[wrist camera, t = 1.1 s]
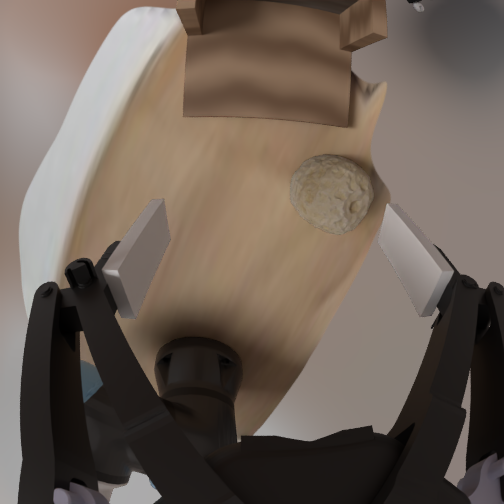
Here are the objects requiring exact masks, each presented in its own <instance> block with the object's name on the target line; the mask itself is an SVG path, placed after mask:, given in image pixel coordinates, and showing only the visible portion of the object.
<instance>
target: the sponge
mask: <svg viewBox="0 0 504 504" xmlns="http://www.w3.org/2000/svg"><path fill="white" fill-rule="evenodd" d="M373 198H374V191H373V187H372V184H371V179H370V177H369V175H367V173H366V172H365V171H364V170H363V169H362V168H361V167H360V166H358V165H357V164H356V163H354V162H353V161H351V160H348V159H346V158H344V157H339V156H337V155H326V154H323V155H319V156H315V157H312V158H310V159H308V160H306V161H304V163H303V164H302V165H301V166H300V168H299V169H298V170H297V171H295V173H294V175H293V177H292V179H291V185H290V200H291V203H292V204H293V206H294V207H295V209H296V210H297V211H298V213H299V215H300V216H301V217H303V218H304V220H307V221H308V222H309V223H310V224H312V225H313V226H314V227H315V228H319V229H321V230H323V231H325V232H327V233H331V234H336V235H341V234H345V233H347V232H348V231H352V230H354V229H355V228H356V226H357V225H358V224H359V223H360V222H361V221H362V219H363V218H364V216H365V215H366V214H367V211H368V209H369V207H370V204H371V202H372V200H373Z"/></svg>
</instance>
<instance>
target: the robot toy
mask: <svg viewBox="0 0 504 504" xmlns="http://www.w3.org/2000/svg"><path fill="white" fill-rule="evenodd" d="M407 1H408V2H409V3H413V8H414V9H415V10H416V11H417V12H422V11H424V7H423V5H422V4H421V3H419V1H421V0H407Z"/></svg>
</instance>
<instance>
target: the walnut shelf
mask: <svg viewBox="0 0 504 504" xmlns="http://www.w3.org/2000/svg"><path fill="white" fill-rule="evenodd" d="M176 11H177V13H178V15H179V17H180V20H181V22H182V24H183V26H184V28H185V31H186V33H187V35H188V39H187V51H186V64H185V80H184V102H183V117H249V118H267V119H280V120H291V121H301V122H309V123H317V124H325V125H332V126H338V127H346V128H347V127H348V114H349V100H350V83H351V54H352V52H353V51H356V50H358V49H360V48H363V47H365V46H367V45H370V44H372V43H375V42H377V41H380V40H382V39H385V38H387V15H386V1H385V0H177V5H176Z"/></svg>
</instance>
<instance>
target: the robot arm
mask: <svg viewBox="0 0 504 504" xmlns="http://www.w3.org/2000/svg"><path fill="white" fill-rule="evenodd" d="M170 240H171V239H170V233H169V227H168V221H167V215H166V208H165V202H164V199H152V200H151V201H150V203H149V204H148V205H147V206H146V208H145V209H144V210H143V212H142V213H141V214H140V216H139V217H138V218H137V220H136V221H135V222H134V224H133V225H132V226H131V228H130V229H129V231H128V232H127V233H126V235H125V236H124V238H123V239H122V240H121V241H115V242H114V243H113V244H111V245H110V246H109V247H108V248H107V250H106V251H105V252H104V254H103V255H102V257H101V259H100V260H99V261H98V262H97V264H96V265H95V267H94V266H93V263H92V261H91V260H90V259H88V258H81V259H77V260H75V261H73V262H71V263H70V264H69V265H68V266H67V267H66V269H65V276H66V278H67V280H68V282H69V284H70V287H71V288H66V289H61V290H60V289H59V287H58V285H57V284H56V282H47V283H44V284H42V285H41V286H40V287H39V288H38V289H37V290H36V292H35V295H34V299H33V303H32V308H31V313H30V318H29V324H28V328H27V334H26V342H25V348H24V356H23V366H22V376H21V394H20V395H21V396H20V431H21V446H22V457H23V461H22V468H21V474H20V482H19V492H18V504H109V501H110V497H111V494H112V491H113V489H114V488H117V487H121V486H125V485H127V483H128V481H129V478H130V475H131V472H132V471H135V472H139V473H143V474H146V475H147V476H148V477H149V481H150V483H151V486H152V487H153V488H155V489H157V490H158V492H159V493H160V495H161V496H162V497H161V498H160V499H159V500H158V501H156V502H155V503H154V504H504V288H503V286H502V285H500V284H499V283H496V282H490V284H489V285H488V287H487V289H483V288H479V287H478V284H477V282H476V281H475V280H474V279H472V278H471V277H469V276H467V275H460V273H459V272H458V271H457V270H456V268H455V267H454V265H453V264H452V263H451V262H450V261H449V259H448V258H447V257H446V256H445V254H444V253H443V252H442V250H441V249H439V248H438V247H437V246H436V245H434V244H432V242H431V241H430V240H429V239H428V238H427V236H426V235H425V234H424V233H423V232H422V231H421V229H420V228H419V227H418V226H417V225H416V224H415V223H414V222H413V221H412V219H411V218H410V217H409V216H408V215H407V214H406V213H405V212H404V211H403V209H402V208H401V207H400V206H399V205H398V204H391V203H387V205H386V210H385V214H384V218H383V222H382V226H381V231H380V234H379V238H378V243H379V245H380V247H381V248H382V250H383V252H384V253H385V255H386V257H387V258H388V260H389V262H390V263H391V265H392V267H393V268H394V270H395V272H396V274H397V275H398V277H399V279H400V281H401V282H402V284H403V286H404V288H405V290H406V291H407V293H408V295H409V297H410V299H411V301H412V303H413V305H414V307H415V309H416V310H417V312H418V314H419V316H420V317H426V316H432V314H433V312H434V311H435V309H436V307H437V308H438V309H439V311H440V313H439V314H438V316H437V318H436V320H435V321H434V323H433V325H432V327H431V329H432V328H433V327H434V329H433V332H432V335H431V338H430V341H429V344H428V347H427V350H426V353H425V356H424V359H423V361H422V364H421V367H420V369H419V372H418V375H417V377H416V379H415V382H414V384H413V386H412V389H411V391H410V394H409V396H408V398H407V400H406V402H405V405H404V406H403V409H402V411H401V413H400V415H399V417H398V419H397V421H396V423H395V425H394V426H393V428H392V429H391V430H390V432H389V433H388V434H387V435H384V434H380V433H374V432H373V428H372V425H371V426H366V427H360V428H354V429H348V430H342V431H339V432H337V433H334V434H331V435H329V436H326V437H323V438H320V439H317V440H315V441H302V440H295V439H290V438H285V437H279V436H241V442H238V443H237V434H236V423H235V411H234V402H235V399H236V396H237V393H238V390H239V387H240V384H241V381H242V375H243V373H242V363H241V360H240V358H239V356H238V355H237V354H236V352H235V351H233V350H232V349H231V348H230V347H228V346H226V345H225V344H223V343H220V342H218V341H215V340H211V339H207V338H199V337H188V338H181V339H177V340H174V341H171V342H169V343H167V344H166V345H164V346H163V347H162V348H161V349H160V350H159V352H158V354H157V357H156V361H155V367H154V371H155V377H156V381H157V386H158V390H159V395H160V397H159V396H158V395H157V393H156V391H155V390H154V388H153V387H152V385H151V383H150V382H149V380H148V378H147V377H146V375H145V373H144V371H143V370H142V368H141V366H140V364H139V363H138V361H137V359H136V357H135V355H134V354H133V352H132V350H131V348H130V346H129V344H128V342H127V340H126V338H125V336H124V334H123V332H122V330H121V328H120V326H119V324H118V322H117V320H116V318H115V316H114V315H115V313H116V310H117V309H118V312H119V314H120V316H121V318H129V319H136V318H137V315H138V313H139V310H140V308H141V305H142V303H143V300H144V298H145V296H146V293H147V291H148V289H149V286H150V284H151V282H152V279H153V277H154V275H155V273H156V270H157V268H158V266H159V264H160V261H161V259H162V257H163V255H164V253H165V251H166V248H167V246H168V244H169V242H170ZM489 325H490V327H489ZM80 331H84V334H85V338H86V340H87V343H88V346H89V349H90V352H91V355H92V357H93V360H94V363H95V365H96V366H94V365H92V364H90V363H88V362H86V361H83V360H80ZM470 369H471V370H470ZM469 371H471V404H470V422H469V435H468V443H467V454H466V473H465V476H464V478H462V479H460V481H459V482H458V485H457V487H455V486H454V485H453V484H452V483H450V482H449V481H448V480H446V479H445V478H444V476H445V474H446V472H447V469H448V467H449V464H450V462H451V459H452V457H453V454H454V451H455V449H456V446H457V443H458V440H459V438H460V434H461V431H462V428H463V425H464V422H465V418H466V410H465V409H463V408H461V404H462V400H463V397H464V393H465V389H466V384H467V380H468V376H469Z"/></svg>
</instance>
